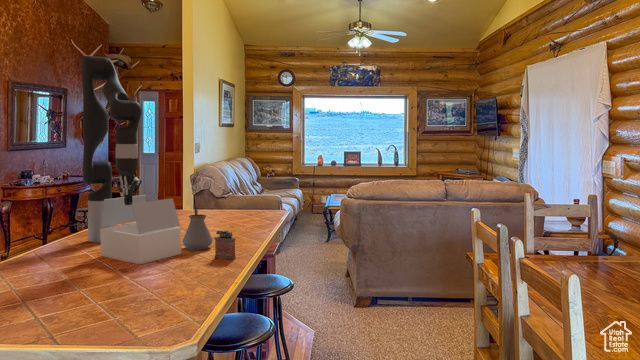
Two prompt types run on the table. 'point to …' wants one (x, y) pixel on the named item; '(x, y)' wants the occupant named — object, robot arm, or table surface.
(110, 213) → the flap
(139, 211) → the flap
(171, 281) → the table surface
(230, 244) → the lighter
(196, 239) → the coffee pot
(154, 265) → the table surface
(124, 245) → the carton
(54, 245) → the table surface
